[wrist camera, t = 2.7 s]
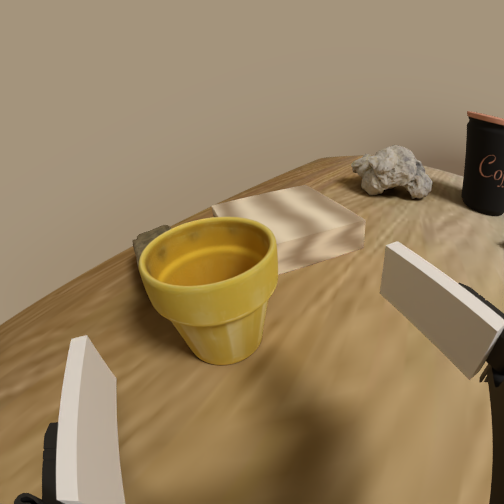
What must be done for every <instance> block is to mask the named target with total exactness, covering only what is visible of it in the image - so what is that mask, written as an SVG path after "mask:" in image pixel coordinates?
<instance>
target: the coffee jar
mask: <svg viewBox="0 0 504 504" xmlns="http://www.w3.org/2000/svg"><path fill="white" fill-rule="evenodd" d="M467 114H468V116H469V119H470V120H469V123H468V124H467V142H466V158H465V170H464V179H463V188H462V198H463V201H464V203H465V204H466V205H467V206H468V207H469V208H471V209H473V210H475V211H477V212H479V213H483V214H486V215H491V216H500V215H502V214H503V213H504V119H501V118H498V117H493V116H490V115H485V114H481V113H475V112H470V111H467Z"/></svg>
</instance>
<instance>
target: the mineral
mask: <svg viewBox="0 0 504 504" xmlns="http://www.w3.org/2000/svg"><path fill="white" fill-rule="evenodd" d="M351 165H352V167H353V169H352V170H353V172H354V173H358V175H359V176H361V177H362V183H361V187H362V189H363V190H365V191H366V192H367V193H368V194H369V195H377V194H379V193H382V192H383V190H385V189H390V188H394V187H396V186H399V185H400V186H404V187H405V188H406V190H407V191H409V192H410V194H411V197H412V199H414V198H423V197H425V196H427V195H428V193H429V192H430V191H431V188H432V180H431V179H430V178H429V176H428V175H427V174H425V168H424V167H423V166H422V163H421V161H418V160H416V159H415V156H414V155H413V153H412V151H410V150H409V149H407V148H405V147H402V146H399V145H393V146H390V147H388V148H385V149H383V150H380V151H378V152H377V153H376V154H375V156H370V155H369V154H365V155H364V156H363V157H362V158H360V159H358V160H355V161H354V162H353V163H352V164H351Z"/></svg>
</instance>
